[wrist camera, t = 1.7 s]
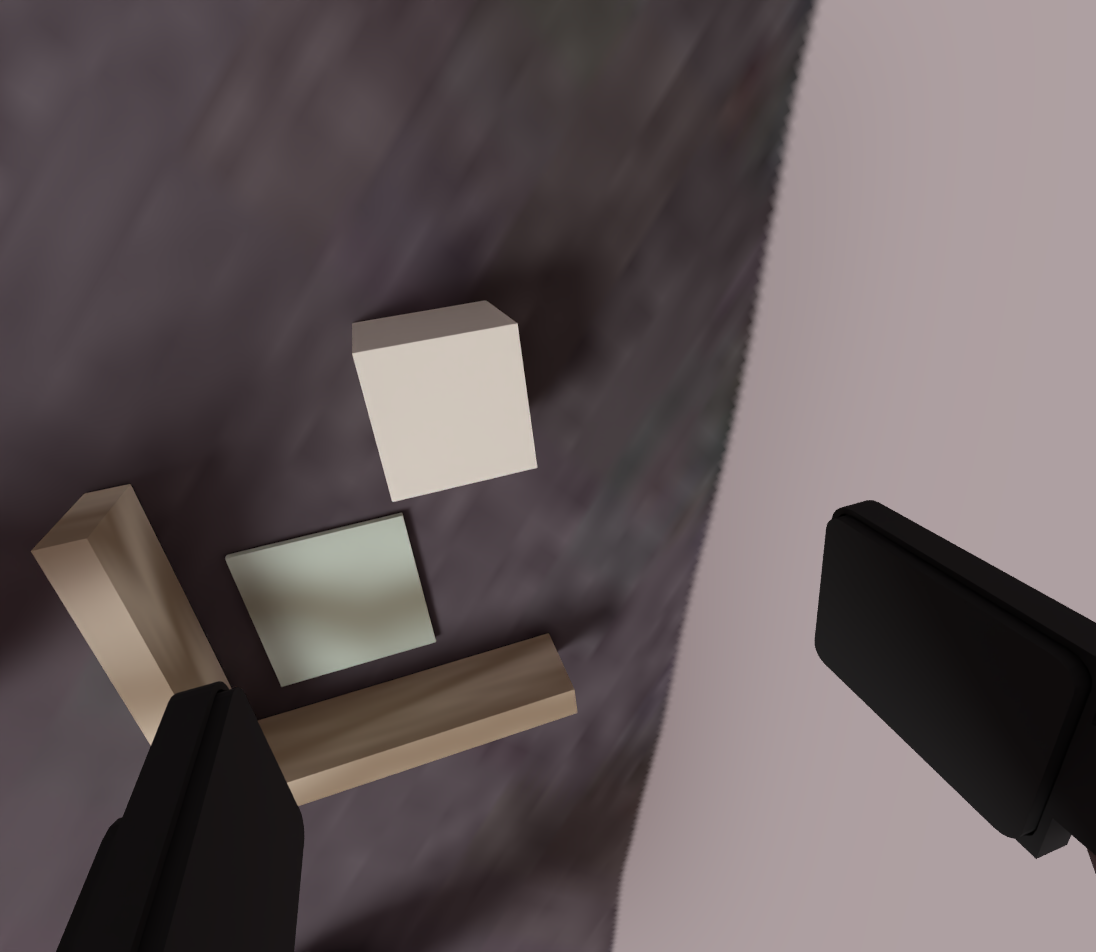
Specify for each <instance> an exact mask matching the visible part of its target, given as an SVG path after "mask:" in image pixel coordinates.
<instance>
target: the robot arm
mask: <svg viewBox="0 0 1096 952" xmlns="http://www.w3.org/2000/svg"><path fill="white" fill-rule="evenodd" d="M815 648H816V651H817V653H818V655H819V657H820V659H821V660H822V661H823V662H824V664H825V665H826V666H827V667H829V668H830V669H831V670H832V671H833V672H834V673H835V674H836V675H837V676H838V677H839V678H840V679H841V680H842V681H843V682H844V683H845V684H846V685H847V686H848V687H849V688H850V689H851V690H852V691H853V692H854V693H855V694H856V695H857V696H859V698H861V699H862V700H863V701H864V702H865V703H866V704H867V705H868V706H869V707H870V708H871V709H872V710H873V711H874V712H875V713H876V714H877V715H878V716H879V717H880V718H881V719H882V720H883V721H884V722H885V723H886V724H887V725H888V726H889V727H891V728H892V729H893V730H894V731H895V732H896V733H897V734H898V735H899V736H900V737H901V738H902V739H903V740H904V741H905V742H906V743H907V744H908V745H909V746H910V747H911V748H912V749H914V751H915V752H916V753H918V755H920V756H921V757H922V758H923V759H924V760H925V761H926V762H927V763H928V764H929V765H930V766H931V767H932V768H933V769H934V770H935V771H936V772H937V773H938V774H939V775H940V776H941V777H942V778H943V779H944V780H945V781H946V782H947V783H948V784H949V785H950V786H952V787H953V788H954V789H955V790H956V791H957V792H958V793H959V794H960V795H961V796H962V797H963V798H964V799H965V800H966V801H967V802H968V803H969V804H970V805H971V806H972V807H973V808H974V809H975V810H976V811H977V812H979V814H980V815H981V816H983V817H984V818H985V819H986V820H987V821H988V822H989V823H990V824H991V825H992V826H993V827H994V828H995V829H996V830H998V831H999V832H1000V833H1002V834H1003V835H1005V836H1007V837H1010V838H1015V839H1016V840H1017V841H1018V842H1019V843H1020V844H1021V845H1022V846H1023V847H1024V848H1026V850H1028V851H1029V852H1030V853H1031V854H1032V855H1033V856H1034V857H1035V858H1036V859H1037V858H1039V857H1041V856H1043V855H1046V854H1048V853H1050V852H1052V851H1054V850H1056V849H1059V848H1061V847H1063V846H1065V845H1067V843H1068V841H1069V839H1070V837H1071V835H1073V836H1074V837H1075V838H1076V839H1077V840H1078V841H1079V842H1081V843H1082V844H1083V845H1084V846H1085V847H1086V848H1087V851H1088V853H1089V856H1090V859H1091V862H1092V864H1093V868H1094V870H1095V873H1096V623H1095V622H1093V621H1091V620H1090V619H1088V618H1086V617H1084V616H1083V615H1081V614H1079V613H1077V612H1075V611H1073V610H1072V609H1070V608H1068V607H1066V606H1064V605H1063V604H1061V603H1059V602H1057V601H1056V600H1054V599H1052V598H1050V597H1048V596H1046V595H1045V594H1043V593H1041V592H1039V591H1037V590H1036V589H1034V588H1032V587H1030V586H1028V585H1027V584H1025V583H1023V582H1021V581H1019V580H1017V579H1016V578H1014V577H1012V576H1010V575H1009V574H1007V573H1005V572H1003V571H1001V570H999V569H998V568H996V567H994V566H992V565H990V564H989V563H987V562H985V561H983V560H981V559H980V558H978V557H976V556H974V555H973V554H971V553H969V552H967V551H965V550H964V549H962V548H960V547H958V546H956V545H955V544H953V543H951V542H949V541H947V540H945V539H944V538H942V537H940V536H938V535H936V534H935V533H933V532H931V531H929V530H927V529H925V528H924V527H922V526H920V525H918V524H917V523H915V522H913V521H911V520H909V519H908V518H906V517H904V516H902V515H900V514H899V513H897V512H895V511H893V510H891V509H889V508H888V507H886V506H884V505H882V504H880V503H879V502H876V501H873V500H869V501H868V500H867V501H863V502H860V503H856V504H853V505H849V506H846V507H842V508H839V509H838V510H836V511H835V512H834V514H833V517H832V520H830V521H829V522H828V524H827V527H826V535H825V545H824V554H823V564H822V574H821V584H820V593H819V603H818V612H817V623H816V632H815ZM303 847H304V825H303V819H302V815H301V812H300V809H299V807H298V805H297V803H296V801H295V799H294V797H293V795H292V792H291V790H290V788H289V786H288V784H287V782H286V780H285V778H284V775H283V773H282V771H281V769H280V767H279V765H278V763H277V761H276V759H275V756H274V754H273V752H272V750H271V748H270V746H269V744H268V742H267V739H266V737H265V735H264V733H263V731H262V729H261V727H260V725H259V723H258V720H257V718H256V716H255V714H254V712H253V710H252V708H251V706H250V703H249V701H248V699H247V697H246V695H245V693H244V692H243V690H242V689H241V688H239V687H237V688H233V689H230V690H229V688H228V686H227V685H226V684H225V683H224V682H221V681H218V682H214V683H211V684H207V685H204V686H200V687H196V688H193V689H189V690H186V691H182V692H179V693H176V694H174V695H173V696H172V697H171V698H170V700H169V702H168V704H167V707H166V709H165V712H164V714H163V717H162V719H161V722H160V724H159V727H158V729H157V732H156V734H155V737H154V739H153V742H152V744H151V747H150V749H149V752H148V754H147V757H146V760H145V762H144V765H143V767H142V770H141V772H140V775H139V777H138V780H137V782H136V785H135V787H134V790H133V792H132V795H131V797H130V800H129V802H128V805H127V807H126V810H125V812H124V815H123V817H122V818H119V819H117V820H116V821H115V822H114V823H113V824H112V825H111V826H110V827H109V829H108V831H107V833H106V835H105V836H104V838H103V840H102V842H101V844H100V847H99V849H98V852H97V854H96V856H95V859H94V861H93V864H92V866H91V869H90V871H89V873H88V876H87V878H86V881H85V883H84V885H83V888H82V890H81V893H80V895H79V898H78V900H77V902H76V905H75V907H74V910H73V912H72V914H71V917H70V919H69V922H68V924H67V926H66V929H65V931H64V934H63V936H62V939H61V941H60V943H59V946H58V948H57V951H56V952H294V946H295V935H296V924H297V913H298V902H299V891H300V880H301V869H302V858H303Z"/></svg>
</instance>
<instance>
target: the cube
mask: <svg viewBox="0 0 1096 952" xmlns="http://www.w3.org/2000/svg"><path fill="white" fill-rule="evenodd" d="M352 355H353V358H354V362H355V366H356V369H357V373H358V377H359V380H360V384H361V388H362V392H363V395H364V399H365V403H366V406H367V410H368V414H369V417H370V421H371V425H372V429H373V432H374V436H375V440H376V443H377V447H378V451H379V454H380V458H381V462H382V466H383V469H384V473H385V477H386V480H387V484H388V488H389V491H390V495H391V499H392V502H395V501H399V500H403V499H408V498H412V497H416V496H420V495H424V494H429V493H433V492H437V491H441V490H445V489H450V488H454V487H458V486H462V485H467V484H471V483H475V482H479V481H483V480H488V479H492V478H496V477H500V476H504V475H509V474H513V473H517V472H521V471H525V470H530V469H534V468H537V462H536V455H535V448H534V440H533V433H532V426H531V418H530V411H529V404H528V397H527V389H526V382H525V375H524V367H523V360H522V353H521V345H520V338H519V331H518V323H516V322H515V321H514V320H512V319H511V318H509V317H508V316H507V315H505V314H504V313H503V312H501V311H500V310H499V309H497V308H496V307H494V306H493V305H492V304H490V303H489V302H488V301H486V300H485V301H479V302H473V303H467V304H461V305H455V306H449V307H444V308H438V309H432V310H426V311H420V312H414V313H408V314H403V315H397V316H391V317H385V318H379V319H373V320H367V321H362V322H356V323H352Z"/></svg>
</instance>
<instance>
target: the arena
mask: <svg viewBox="0 0 1096 952" xmlns="http://www.w3.org/2000/svg"><path fill="white" fill-rule="evenodd" d="M31 552H32V554H33V556H34V557H35V559H36V560H37V562H38V564H39V565H40V567H41V569H42V570H43V572H44V573H45V575H46V577H47V578H48V580H49V581H50V583H51V585H52V586H53V588H54V590H55V591H56V593H57V594H58V596H59V598H60V599H61V601H62V602H63V604H64V606H65V607H66V609H67V611H68V612H69V614H70V615H71V617H72V619H73V620H74V622H75V623H76V625H77V627H78V628H79V630H80V632H81V633H82V635H83V636H84V638H85V640H86V641H87V643H88V645H89V646H90V648H91V649H92V651H93V653H94V654H95V656H96V657H97V659H98V661H99V662H100V664H101V666H102V667H103V669H104V670H105V672H106V674H107V675H108V677H109V678H110V680H111V682H112V683H113V685H114V687H115V688H116V690H117V691H118V693H119V695H120V696H121V698H122V700H123V701H124V703H125V704H126V706H127V708H128V709H129V711H130V712H131V714H132V716H133V717H134V719H135V721H136V722H137V724H138V725H139V727H140V729H141V730H142V732H143V733H144V735H145V737H146V738H147V740H148V742H149V743H150V745H151V744H152V742H153V739H154V737H155V734H156V732H157V729H158V727H159V724H160V722H161V719H162V717H163V714H164V712H165V709H166V707H167V704H168V702H169V700H170V698H171V697H172V696H173V695H174V694H176V693H179V692H182V691H186V690H189V689H193V688H196V687H200V686H204V685H207V684H211V683H214V682H218V681H221V682H224V683H225V684H226V685H227V686H228V688H229V690H230V689H232V688H231V686H230V684H229V682H228V680H227V678H226V676H225V674H224V672H223V670H222V668H221V666H220V664H219V662H218V660H217V658H216V656H215V654H214V652H213V650H212V648H211V646H210V644H209V642H208V640H207V638H206V636H205V634H204V632H203V630H202V628H201V626H200V624H199V621H198V619H197V617H196V615H195V613H194V611H193V609H192V607H191V605H190V603H189V601H188V599H187V597H186V595H185V593H184V591H183V589H182V587H181V585H180V583H179V581H178V579H177V577H176V575H175V573H174V571H173V569H172V567H171V565H170V563H169V561H168V559H167V557H166V555H165V553H164V551H163V549H162V547H161V545H160V543H159V541H158V539H157V537H156V535H155V533H154V531H153V529H152V527H151V524H150V522H149V520H148V518H147V516H146V514H145V512H144V510H143V508H142V506H141V504H140V502H139V500H138V498H137V496H136V494H135V492H134V490H133V488H132V486H131V484H127V485H123V486H118V487H113V488H108V489H104V490H99V491H94V492H89V493H85V494H83V495H82V497H81V498H80V499H79V500H78V501H77V502H76V503H75V504H74V505H73V506H72V507H71V508H70V509H69V511H68V512H67V513H66V514H65V515H64V516H63V517H62V518H61V519H60V520H59V521H58V522H57V523H56V524H55V526H54V527H53V528H52V529H51V530H50V531H49V532H48V533H47V534H46V535H45V536H44V537H43V538H42V540H41V541H40V542H39V543H38V544H37V545H36V546H35V547H34V548H33V549H32V550H31ZM225 560H226V562H227V565H228V567H229V569H230V571H231V574H232V576H233V578H234V581H235V583H236V585H237V587H238V590H239V592H240V594H241V596H242V599H243V601H244V603H245V605H246V608H247V610H248V612H249V615H250V617H251V619H252V621H253V624H254V626H255V628H256V630H257V633H258V635H259V637H260V639H261V642H262V644H263V646H264V649H265V651H266V653H267V655H268V658H269V660H270V662H271V664H272V667H273V669H274V671H275V673H276V676H277V678H278V680H279V683H280V685H281V687H283V686H287V685H290V684H294V683H297V682H301V681H304V680H307V679H311V678H314V677H318V676H321V675H325V674H328V673H331V672H335V671H338V670H342V669H345V668H349V667H352V666H355V665H359V664H362V663H366V662H369V661H373V660H376V659H379V658H383V657H386V656H390V655H393V654H397V653H400V652H403V651H407V650H410V649H414V648H417V647H421V646H424V645H428V644H431V643H434V642H436V639H435V635H434V631H433V628H432V624H431V620H430V616H429V612H428V609H427V605H426V601H425V597H424V593H423V590H422V586H421V582H420V578H419V574H418V571H417V567H416V563H415V559H414V556H413V552H412V548H411V544H410V540H409V537H408V533H407V529H406V525H405V521H404V518H403V514H402V513H398V514H393V515H389V516H385V517H381V518H377V519H373V520H369V521H364V522H360V523H356V524H352V525H348V526H344V527H340V528H335V529H331V530H327V531H323V532H319V533H315V534H311V535H306V536H302V537H298V538H294V539H290V540H286V541H282V542H277V543H273V544H269V545H265V546H261V547H257V548H253V549H248V550H244V551H240V552H236V553H232V554H228V555H226V557H225ZM575 713H577V706H576V699H575V691H574V688H573V685H572V683H571V681H570V679H569V677H568V674H567V672H566V670H565V668H564V666H563V663H562V661H561V659H560V657H559V655H558V652H557V650H556V648H555V646H554V644H553V642H552V639H551V637H550V635H549V633H547V634H544V635H541V636H537V637H534V638H531V639H527V640H524V641H521V642H517V643H514V644H511V645H507V646H504V647H501V648H497V649H494V650H491V651H487V652H484V653H481V654H478V655H474V656H471V657H468V658H464V659H461V660H458V661H454V662H451V663H448V664H444V665H441V666H438V667H434V668H431V669H428V670H424V671H421V672H418V673H414V674H411V675H408V676H404V677H401V678H398V679H394V680H391V681H388V682H384V683H381V684H378V685H374V686H371V687H368V688H364V689H361V690H358V691H354V692H351V693H348V694H344V695H341V696H338V697H334V698H331V699H328V700H324V701H321V702H318V703H314V704H311V705H308V706H304V707H301V708H298V709H294V710H291V711H288V712H284V713H281V714H278V715H274V716H271V717H268V718H264V719H261V720H258V723H259V725H260V727H261V729H262V731H263V733H264V735H265V737H266V739H267V742H268V744H269V746H270V748H271V750H272V752H273V754H274V756H275V759H276V761H277V763H278V765H279V767H280V769H281V771H282V773H283V775H284V778H285V780H286V782H287V784H288V786H289V788H290V790H291V792H292V795H293V797H294V799H295V801H296V803H297V805H298V806H300V805H303V804H306V803H309V802H312V801H315V800H318V799H321V798H324V797H327V796H330V795H333V794H336V793H339V792H342V791H345V790H348V789H351V788H354V787H357V786H360V785H363V784H366V783H369V782H372V781H375V780H378V779H381V778H384V777H387V776H390V775H393V774H396V773H399V772H402V771H405V770H408V769H411V768H414V767H417V766H420V765H423V764H426V763H429V762H432V761H435V760H438V759H441V758H444V757H447V756H450V755H453V754H456V753H459V752H461V751H464V750H467V749H470V748H473V747H476V746H479V745H482V744H485V743H488V742H491V741H494V740H497V739H500V738H503V737H506V736H509V735H512V734H515V733H518V732H521V731H524V730H527V729H530V728H533V727H536V726H539V725H542V724H545V723H548V722H551V721H554V720H557V719H560V718H563V717H566V716H569V715H572V714H575Z"/></svg>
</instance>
